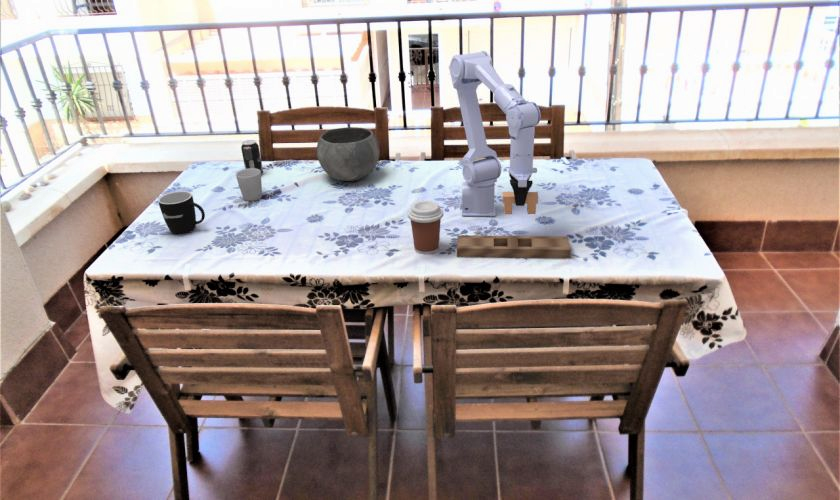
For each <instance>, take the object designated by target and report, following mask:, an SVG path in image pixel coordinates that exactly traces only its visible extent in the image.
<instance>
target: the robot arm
mask: <svg viewBox="0 0 840 500" xmlns="http://www.w3.org/2000/svg"><path fill="white" fill-rule="evenodd" d="M492 59H493V58H492V57H491V56H490V54H489V53H488V52H487V51H485V50H482V51H479V52H473V53H472V52H471V53H465V54H455V55H453V56H452V58H451V60H450V63H449V67H448V68H449V73H450V79H451V83H452V86H453V89H455V90H456V93H457V94H456V95H457V98H458V99H457V100H458V104H459V107H460V108H459V109H460V114H461V117H462V123H463V126H464V131H465V136H466V137H465V138H466V141H467V146H468V151H467V153H466V154H465V155H464V156H463V157H462V159H461V162H462V163H461V164H462V176H463V179H464V181H462V184H461V194H462V195H461V200H460V202H461V203H460V204H461V205H460V206H461V210H462V211H461V216H462V217H496V216H497V215H496V204H495V186H496V185H495V184H496V183H497V182H498V178H500V177H501V175H502V164H501V162H500V160H499V159H498V155H497V151H496V150H493V148H490V147H489V146H488V144H487V137H486V133H485V128H484V123H483V119H482V113H481V108H480V105H479V104H480V103H479V99H478V94H477V89H478V87H479V86H480V85H481V84H482V83H483V85H485V86H486V87H487V89H489V90H490V91H491V92H492V93H493V94H494V95H493V101H494V102H495V103H496V105H497V106H498V107H499V108H500V109H501V111H502V112H503V113H504V114H505V118H506V123H507V126H508V133H509V136H510V146H509V147H510V149H509V150H510V153H509V168H508V175H509V178H510V179H509V184H510V186H511V188H512V192H514V197H515V203H516V204H515V206H516V207H519V206H520V207H524V206H525V201H526V197H527V194H528V192H530V190H531V188H532V186H533V180H530V179H531V177H532V175H533V174H537V173H538V167H533V166H534V147H535V132H536V131H535V129H536V126H537V125H539V124H540V121H541V117H542V116H541V111H540V108H539V105H537V103H536V102H535V101H529V100H526V99H525V98H524V97H523V96H522V94H520V92H519V91H518V90H517V89H516V88H515V86H514V85H513V84H511V83H510V84H509V83H504V81H503V79H502V78H501V77H500V75H499V74H498V73H497V71H496V70H495V68H493V60H492ZM481 158H482V159H481ZM477 159H479V160H477Z"/></svg>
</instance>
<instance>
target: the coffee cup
mask: <svg viewBox="0 0 840 500" xmlns="http://www.w3.org/2000/svg"><path fill="white" fill-rule="evenodd" d="M443 217H444V210H443V209H442V208H441V207H440V205H439V203H437V202H435V201H433V200H419V201H416V202H414V203H413V204H412V205H411V206H410V208H409V210H407V218H408V219H409V220H410V224H411V233H412V238H413V239H412V240H413V247H414V251H415V252H416V253H418V254H422V255H430V254H434V253H437V252H438V251H439V249H440V237H441V236H440V234H441V219H442V218H443Z"/></svg>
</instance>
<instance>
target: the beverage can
mask: <svg viewBox="0 0 840 500" xmlns="http://www.w3.org/2000/svg"><path fill="white" fill-rule="evenodd" d="M240 148H241V153H242V159H243V165H244V169H249V168H255V169H259V170H260V171H261V175H263V173H264V169H263V164H262V158H261V151H260V146H259V144H258V142H257V140H255V139H248V140H247V139H246V140H244V141H242V143H241V147H240Z"/></svg>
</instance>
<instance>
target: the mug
mask: <svg viewBox="0 0 840 500" xmlns="http://www.w3.org/2000/svg"><path fill="white" fill-rule="evenodd" d="M158 206H159V208H160V211H161V214H162V217H163V220H164V222H165V224H166V227H167V228H168V229H169V231H170V233H172V234H173V235H176V234H182V235H187V234H189V232H190V233H191V231H192V232H193V231H194V230H195V228H196V226H197V225H199V224H202V222H203V221H204V220H205V218H206V213H205V209H204V208H203V207H202V206H201V205H200V204H199V203H196V202H194V196H193V194H192V192H189V191H186V190H185V191H184V190H181V191H179V190H177V191H171V192H168V193H165V194H163V195H162V196H160V197H158ZM196 208H197V209H198V210H199V211H200V213H201V218H200V220H197V216H196ZM186 233H187V234H186Z"/></svg>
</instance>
